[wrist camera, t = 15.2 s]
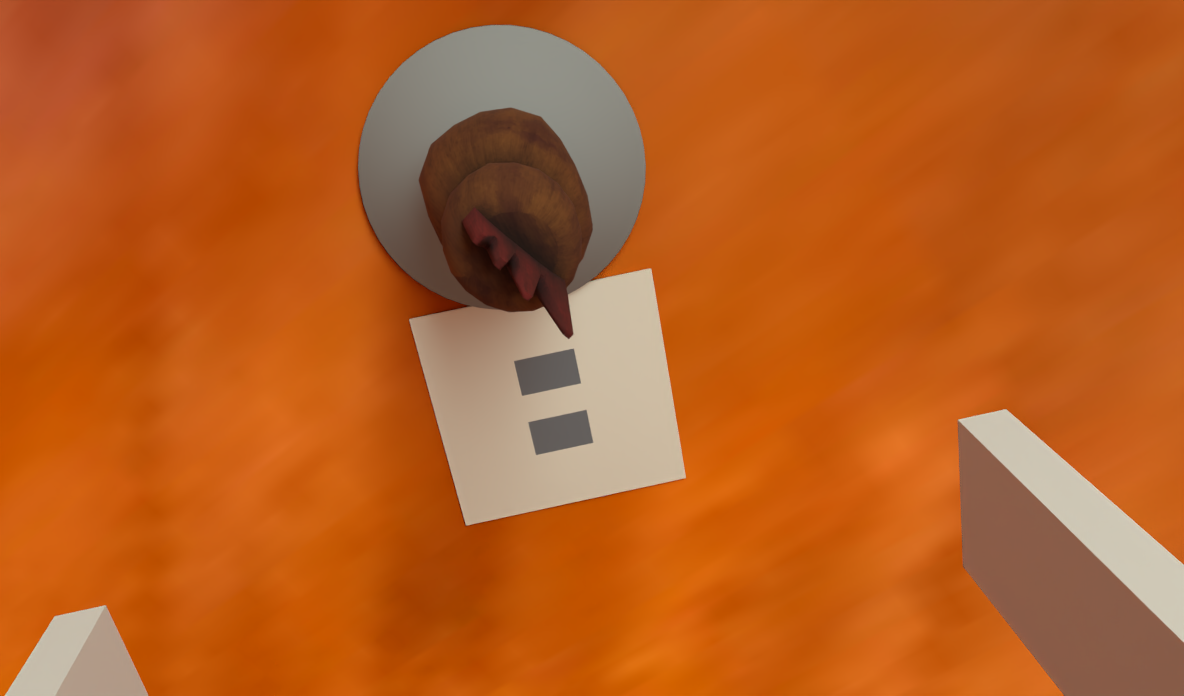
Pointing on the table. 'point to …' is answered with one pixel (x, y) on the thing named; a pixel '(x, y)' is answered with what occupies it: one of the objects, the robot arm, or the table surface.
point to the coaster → (488, 82)
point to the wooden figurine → (508, 211)
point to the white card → (552, 399)
